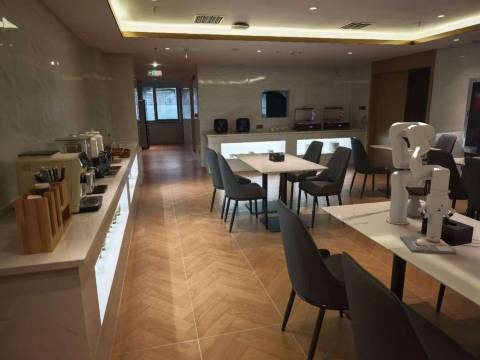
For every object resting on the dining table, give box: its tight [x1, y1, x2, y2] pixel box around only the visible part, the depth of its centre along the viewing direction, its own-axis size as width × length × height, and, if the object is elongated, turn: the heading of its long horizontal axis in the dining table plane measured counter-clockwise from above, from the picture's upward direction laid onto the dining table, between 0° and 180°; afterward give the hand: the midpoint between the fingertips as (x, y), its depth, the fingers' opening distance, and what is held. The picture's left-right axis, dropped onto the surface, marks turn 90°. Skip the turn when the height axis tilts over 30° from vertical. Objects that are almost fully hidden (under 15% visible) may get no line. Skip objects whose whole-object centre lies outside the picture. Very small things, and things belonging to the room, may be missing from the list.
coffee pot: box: [406, 188, 425, 219], centre depth 221 cm, size 21×12×15 cm, turn 178°
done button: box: [416, 239, 426, 246], centre depth 166 cm, size 4×4×2 cm
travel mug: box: [425, 205, 444, 243], centre depth 171 cm, size 6×7×20 cm
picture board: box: [399, 236, 457, 255], centre depth 170 cm, size 18×20×2 cm
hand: (435, 225), depth 171 cm, fingers open, 9 cm apart
